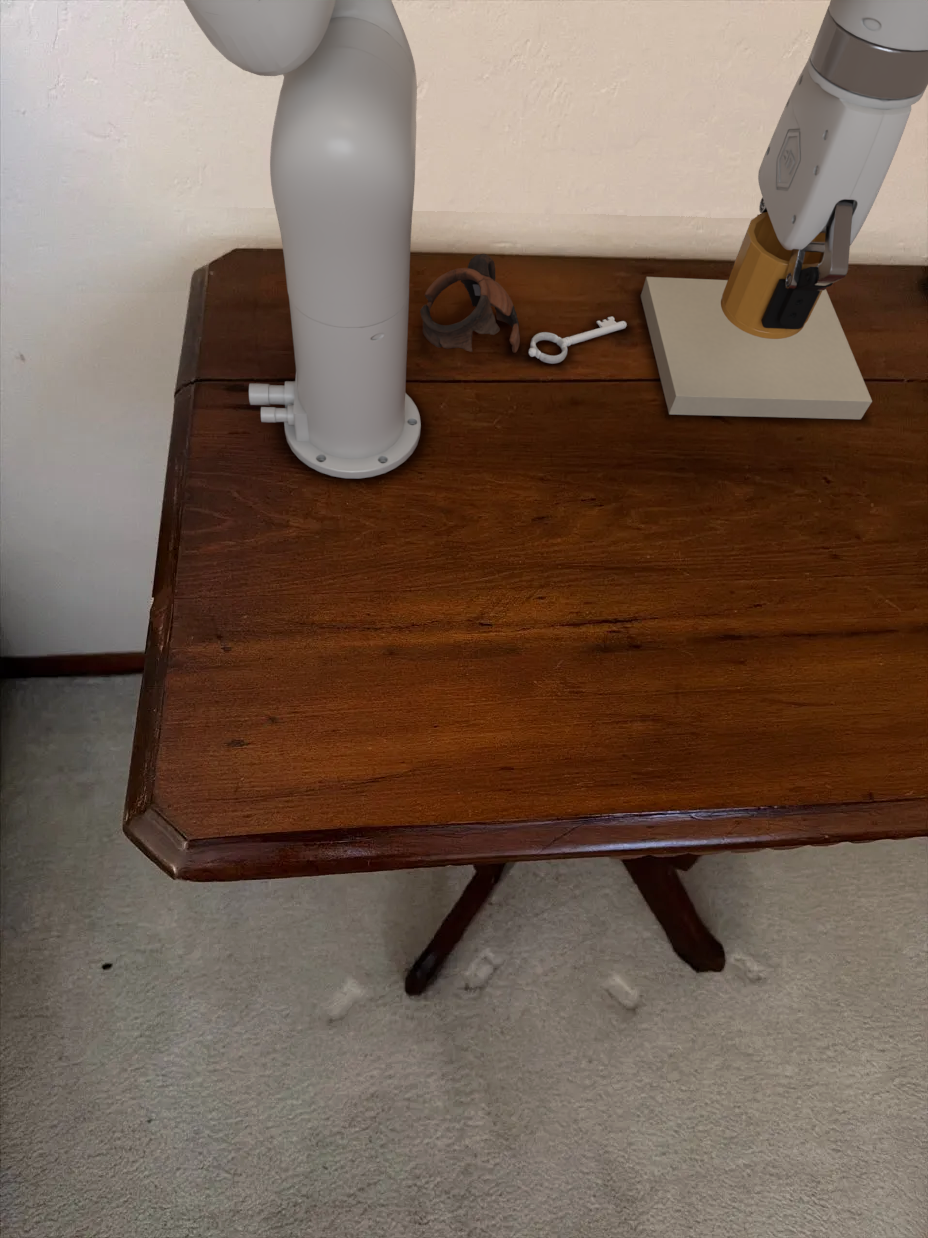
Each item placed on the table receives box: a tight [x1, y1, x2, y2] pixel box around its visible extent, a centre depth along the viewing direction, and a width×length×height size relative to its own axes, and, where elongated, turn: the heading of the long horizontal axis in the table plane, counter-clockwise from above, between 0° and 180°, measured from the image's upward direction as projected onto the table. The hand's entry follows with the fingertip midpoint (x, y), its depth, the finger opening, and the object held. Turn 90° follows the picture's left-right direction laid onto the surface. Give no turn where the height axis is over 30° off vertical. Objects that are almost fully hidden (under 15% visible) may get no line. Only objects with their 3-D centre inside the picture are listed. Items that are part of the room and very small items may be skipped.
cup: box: [721, 212, 825, 339], centre depth 69 cm, size 7×7×6 cm
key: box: [527, 316, 628, 365], centre depth 91 cm, size 12×1×4 cm
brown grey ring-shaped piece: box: [419, 253, 521, 354], centre depth 89 cm, size 12×10×8 cm
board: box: [640, 276, 873, 420], centre depth 92 cm, size 20×18×2 cm
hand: (770, 291), depth 70 cm, fingers closed on cup, 7 cm apart
